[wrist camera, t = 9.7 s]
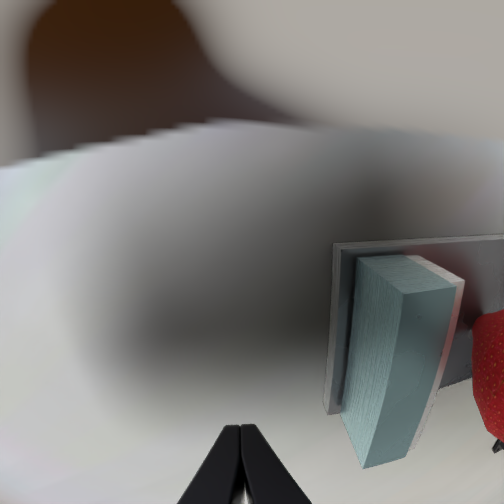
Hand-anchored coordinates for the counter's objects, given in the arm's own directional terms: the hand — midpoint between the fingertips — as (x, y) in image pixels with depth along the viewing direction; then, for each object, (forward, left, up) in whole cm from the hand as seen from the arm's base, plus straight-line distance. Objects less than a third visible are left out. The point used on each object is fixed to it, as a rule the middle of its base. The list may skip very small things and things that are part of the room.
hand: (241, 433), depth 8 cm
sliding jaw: (-6, 0, -4) cm, 7 cm away
